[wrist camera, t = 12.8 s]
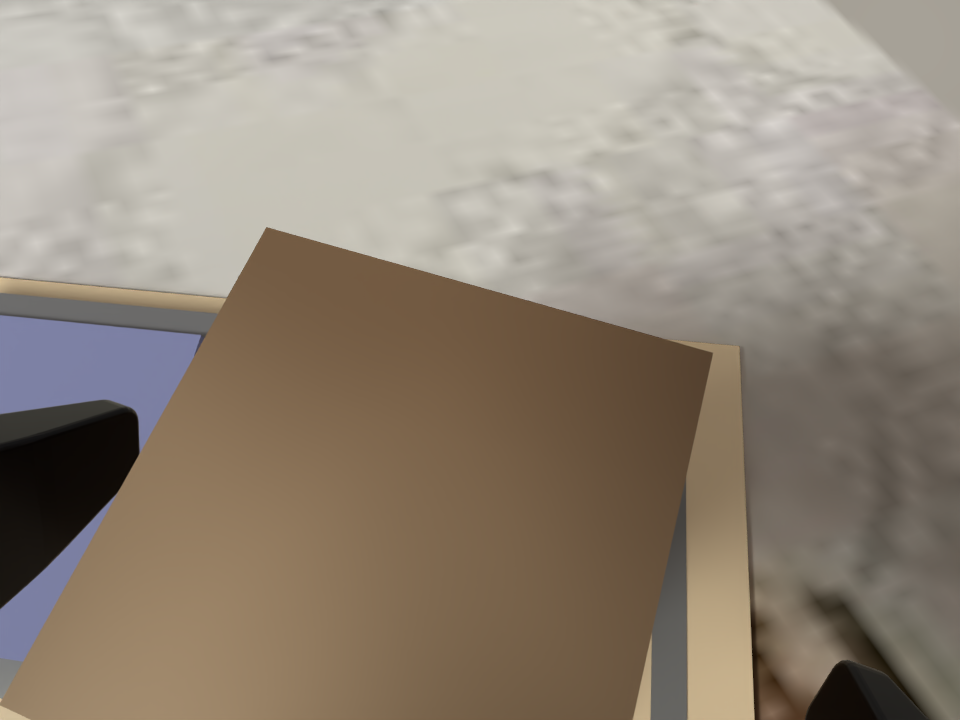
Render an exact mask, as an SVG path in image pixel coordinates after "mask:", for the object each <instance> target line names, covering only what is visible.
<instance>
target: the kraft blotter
mask: <svg viewBox="0 0 960 720" xmlns="http://www.w3.org/2000/svg"><path fill="white" fill-rule="evenodd" d="M0 293H7V294H18V295H28V296H39V297H49V298H60V299H70V300H81V301H91V302H102V303H112V304H123V305H133V306H144V307H154V308H165V309H175V310H186V311H196V312H207V313H217V314H218V313H219V311H220V309H221V308H222V306H223V304H224V302H225V301H226V298H216V297H205V296H194V295H183V294H172V293H162V292H151V291H140V290H129V289H119V288H108V287H97V286H86V285H75V284H65V283H54V282H43V281H32V280H22V279H11V278H0ZM666 340H668V339H666ZM669 341H673V342H676V343H680V344H684V345H687V346H691V347H694V348H698V349H701V350H705V351H709V352H712V353H713V356H712V361H711V365H710V370H709V374H708V379H707V384H706V388H705V393H704V397H703V402H702V406H701V411H700V415H699V420H698V425H697V429H696V434H695V438H694V443H693V447H692V452H691V456H690V461H689V466H688V470H687V475H686V479H685V484H684V488H683V493H682V498H681V502H680V507H679V511H678V516H677V520H676V525H675V529H674V534H673V539H672V543H671V548H670V552H669V557H668V561H667V566H666V570H665V575H664V580H663V584H662V589H661V593H660V598H659V602H658V607H657V611H656V616H655V621H654V625H653V630H652V634H651V639H650V643H649V648H648V652H647V657H646V662H645V666H644V671H643V675H642V680H641V684H640V689H639V694H638V698H637V703H636V707H635V712H634V716H633V720H755V719H754V694H753V669H752V644H751V620H750V595H749V570H748V545H747V520H746V496H745V471H744V446H743V421H742V396H741V372H740V347H739V346H733V345H722V344H711V343H700V342H690V341H679V340H669ZM1 700H2V699H1V698H0V702H1ZM0 720H30V719H28V718H26V717H24V716H22V715H19V714H17V713H15V712H13V711H11V710H9V709H7V708H4V707H2V706H0Z"/></svg>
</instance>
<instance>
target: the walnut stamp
mask: <svg viewBox="0 0 960 720" xmlns="http://www.w3.org/2000/svg"><path fill="white" fill-rule="evenodd" d="M712 356H713V353H712V352H709V351H705V350H701V349H698V348H694V347H691V346H687V345H684V344H680V343H676V342H673V341H669V340H666V339H662V338H659V337H655V336H652V335H648V334H644V333H641V332H637V331H634V330H630V329H627V328H623V327H620V326H616V325H612V324H609V323H605V322H602V321H598V320H595V319H591V318H588V317H584V316H580V315H577V314H573V313H570V312H566V311H563V310H559V309H556V308H552V307H548V306H545V305H541V304H538V303H534V302H531V301H527V300H524V299H520V298H516V297H513V296H509V295H506V294H502V293H499V292H495V291H491V290H488V289H484V288H481V287H477V286H474V285H470V284H467V283H463V282H459V281H456V280H452V279H449V278H445V277H442V276H438V275H435V274H431V273H427V272H424V271H420V270H417V269H413V268H410V267H406V266H403V265H399V264H395V263H392V262H388V261H385V260H381V259H378V258H374V257H371V256H367V255H363V254H360V253H356V252H353V251H349V250H346V249H342V248H339V247H335V246H331V245H328V244H324V243H321V242H317V241H314V240H310V239H306V238H303V237H299V236H296V235H292V234H289V233H285V232H282V231H278V230H274V229H271V228H267V227H266V229H265V231H264V233H263V235H262V236H261V238H260V240H259V242H258V243H257V245H256V247H255V249H254V251H253V252H252V254H251V256H250V258H249V260H248V261H247V263H246V265H245V267H244V268H243V270H242V272H241V274H240V276H239V277H238V279H237V281H236V283H235V285H234V286H233V288H232V290H231V292H230V293H229V295H228V297H227V299H226V301H225V302H224V304H223V306H222V308H221V309H220V311H219V313H218V315H217V317H216V318H215V320H214V322H213V324H212V326H211V327H210V329H209V331H208V333H207V334H206V336H205V338H204V340H203V342H202V343H201V345H200V347H199V349H198V351H197V352H196V354H195V356H194V358H193V359H192V361H191V363H190V365H189V367H188V368H187V370H186V372H185V374H184V376H183V377H182V379H181V381H180V383H179V384H178V386H177V388H176V390H175V392H174V393H173V395H172V397H171V399H170V400H169V402H168V404H167V406H166V408H165V409H164V411H163V413H162V415H161V417H160V418H159V420H158V422H157V424H156V425H155V427H154V429H153V431H152V433H151V434H150V436H149V438H148V440H147V442H146V443H145V445H144V447H143V449H142V450H141V452H140V454H139V456H138V458H137V459H136V461H135V463H134V465H133V467H132V468H131V470H130V472H129V474H128V475H127V477H126V479H125V481H124V483H123V484H122V486H121V488H120V490H119V492H118V493H117V495H116V497H115V499H114V500H113V502H112V504H111V506H110V508H109V509H108V511H107V513H106V515H105V516H104V518H103V520H102V522H101V524H100V525H99V527H98V529H97V531H96V533H95V534H94V536H93V538H92V540H91V541H90V543H89V545H88V547H87V549H86V550H85V552H84V554H83V556H82V558H81V559H80V561H79V563H78V565H77V566H76V568H75V570H74V572H73V574H72V575H71V577H70V579H69V581H68V583H67V584H66V586H65V588H64V590H63V591H62V593H61V595H60V597H59V599H58V600H57V602H56V604H55V606H54V607H53V609H52V611H51V613H50V615H49V616H48V618H47V620H46V622H45V624H44V625H43V627H42V629H41V631H40V632H39V634H38V636H37V638H36V640H35V641H34V643H33V645H32V647H31V649H30V650H29V652H28V654H27V656H26V657H25V659H24V661H23V663H22V665H21V666H20V668H19V670H18V672H17V674H16V675H15V677H14V679H13V681H12V682H11V684H10V686H9V688H8V690H7V691H6V693H5V695H4V697H3V699H2V700H1V702H0V706H2V707H4V708H7V709H9V710H11V711H13V712H15V713H17V714H19V715H22V716H24V717H26V718H28V719H30V720H633V716H634V712H635V707H636V703H637V698H638V694H639V689H640V684H641V680H642V675H643V671H644V666H645V662H646V657H647V652H648V648H649V643H650V639H651V634H652V630H653V625H654V621H655V616H656V611H657V607H658V602H659V598H660V593H661V589H662V584H663V580H664V575H665V570H666V566H667V561H668V557H669V552H670V548H671V543H672V539H673V534H674V529H675V525H676V520H677V516H678V511H679V507H680V502H681V498H682V493H683V488H684V484H685V479H686V475H687V470H688V466H689V461H690V456H691V452H692V447H693V443H694V438H695V434H696V429H697V425H698V420H699V415H700V411H701V406H702V402H703V397H704V393H705V388H706V384H707V379H708V374H709V370H710V365H711V361H712Z"/></svg>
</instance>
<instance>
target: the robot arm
mask: <svg viewBox="0 0 960 720" xmlns="http://www.w3.org/2000/svg"><path fill="white" fill-rule="evenodd" d="M139 454H140V446H139V419H138V415H137V413H136V411H135V410H134V409H132V408H131V407H128V406H125V405H123V404H120V403H117V402H114V401H111V400H105V399H103V400H95V401H88V402H81V403H74V404H67V405H60V406H53V407H46V408H39V409H32V410H25V411H18V412H11V413H4V414H0V609H1V608H2V607H4V606H5V605H6V604H7V603H8V602H9V601H10V600H11V599H13V598H14V597H15V596H16V595H17V594H18V593H19V592H20V591H22V590H23V589H24V588H25V587H26V586H27V585H28V584H29V583H31V582H32V581H33V580H34V579H35V578H36V577H37V576H38V575H39V574H40V573H41V572H42V571H43V570H45V569H46V568H47V567H48V566H49V565H50V564H51V563H52V562H53V561H54V560H55V559H56V558H57V557H58V556H59V555H60V553H61V552H62V551H63V550H64V549H65V548H66V547H67V546H68V545H69V544H70V543H71V542H72V541H73V540H74V539H75V538H76V537H77V536H78V535H79V533H80V532H81V531H82V530H83V529H84V528H85V527H86V526H87V525H88V524H89V523H90V522H91V521H92V520H93V519H94V518H95V517H96V515H97V514H98V513H99V512H100V511H101V510H102V509H103V508H104V507H105V506H106V505H107V504H108V503H109V502H110V501H111V500H112V499H113V497H114V496H115V495H116V494H117V493H118V492H119V490H120V488H121V486H122V484H123V483H124V481H125V479H126V477H127V475H128V474H129V472H130V470H131V468H132V467H133V465H134V463H135V461H136V459H137V458H138V456H139ZM805 720H929V719H928V718H927V717H926V716H925V715H924V714H923V713H922V712H921V711H920V710H919V709H918V708H917V707H916V706H915V704H914V703H913V702H912V701H911V700H910V699H909V698H908V697H907V696H906V695H905V694H904V693H903V692H902V691H901V689H900V688H899V687H898V686H897V685H896V684H895V683H894V682H893V681H892V680H891V679H890V678H889V677H888V676H887V675H886V674H884V673H883V672H881V671H879V670H876V669H873V668H870V667H867V666H865V665H862V664H859V663H856V662H853V661H850V660H843V661H840V662H839V663H837V664H836V665H835V666H834V668H833V669H832V671H831V672H830V674H829V675H828V677H827V679H826V680H825V682H824V683H823V685H822V686H821V688H820V690H819V691H818V693H817V694H816V696H815V698H814V699H813V701H812V702H811V704H810V706H809V708H808V710H807V713H806V718H805Z"/></svg>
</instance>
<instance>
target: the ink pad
mask: <svg viewBox="0 0 960 720" xmlns="http://www.w3.org/2000/svg"><path fill="white" fill-rule="evenodd" d="M217 315H218V314H217V313H207V312H196V311H186V310H175V309H165V308H154V307H144V306H133V305H123V304H112V303H102V302H91V301H81V300H70V299H60V298H49V297H39V296H28V295H18V294H7V293H0V414H4V413H11V412H18V411H25V410H32V409H39V408H46V407H53V406H60V405H67V404H74V403H81V402H88V401H95V400H103V399H105V400H111V401H114V402H117V403H120V404H123V405H125V406H128V407H131V408H132V409H134V410H135V411H136V413H137V415H138V419H139V446H140V452H141V450H142V449H143V447H144V445H145V443H146V442H147V440H148V438H149V436H150V434H151V433H152V431H153V429H154V427H155V425H156V424H157V422H158V420H159V418H160V417H161V415H162V413H163V411H164V409H165V408H166V406H167V404H168V402H169V400H170V399H171V397H172V395H173V393H174V392H175V390H176V388H177V386H178V384H179V383H180V381H181V379H182V377H183V376H184V374H185V372H186V370H187V368H188V367H189V365H190V363H191V361H192V359H193V358H194V356H195V354H196V352H197V351H198V349H199V347H200V345H201V343H202V342H203V340H204V338H205V336H206V334H207V333H208V331H209V329H210V327H211V326H212V324H213V322H214V320H215V318H216V317H217ZM116 495H117V494H116ZM116 495H115V496H114V497H113V499H112V500H111V501H110V502H109V503H108V504H107V505H106V506H105V507H104V508H103V509H102V510H101V511H100V512H99V513H98V514H97V515H96V517H95V518H94V519H93V520H92V521H91V522H90V523H89V524H88V525H87V526H86V527H85V528H84V529H83V530H82V531H81V532H80V533H79V535H78V536H77V537H76V538H75V539H74V540H73V541H72V542H71V543H70V544H69V545H68V546H67V547H66V548H65V549H64V550H63V551H62V552H61V553H60V555H59V556H58V557H57V558H56V559H55V560H54V561H53V562H52V563H51V564H50V565H49V566H48V567H47V568H46V569H45V570H43V571H42V572H41V573H40V574H39V575H38V576H37V577H36V578H35V579H34V580H33V581H32V582H31V583H29V584H28V585H27V586H26V587H25V588H24V589H23V590H22V591H20V592H19V593H18V594H17V595H16V596H15V597H14V598H13V599H11V600H10V601H9V602H8V603H7V604H6V605H5V606H4V607H2V608H1V609H0V698H1V699H3V697H4V695H5V693H6V691H7V690H8V688H9V686H10V684H11V682H12V681H13V679H14V677H15V675H16V674H17V672H18V670H19V668H20V666H21V665H22V663H23V661H24V659H25V657H26V656H27V654H28V652H29V650H30V649H31V647H32V645H33V643H34V641H35V640H36V638H37V636H38V634H39V632H40V631H41V629H42V627H43V625H44V624H45V622H46V620H47V618H48V616H49V615H50V613H51V611H52V609H53V607H54V606H55V604H56V602H57V600H58V599H59V597H60V595H61V593H62V591H63V590H64V588H65V586H66V584H67V583H68V581H69V579H70V577H71V575H72V574H73V572H74V570H75V568H76V566H77V565H78V563H79V561H80V559H81V558H82V556H83V554H84V552H85V550H86V549H87V547H88V545H89V543H90V541H91V540H92V538H93V536H94V534H95V533H96V531H97V529H98V527H99V525H100V524H101V522H102V520H103V518H104V516H105V515H106V513H107V511H108V509H109V508H110V506H111V504H112V502H113V500H114V499H115V497H116Z"/></svg>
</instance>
